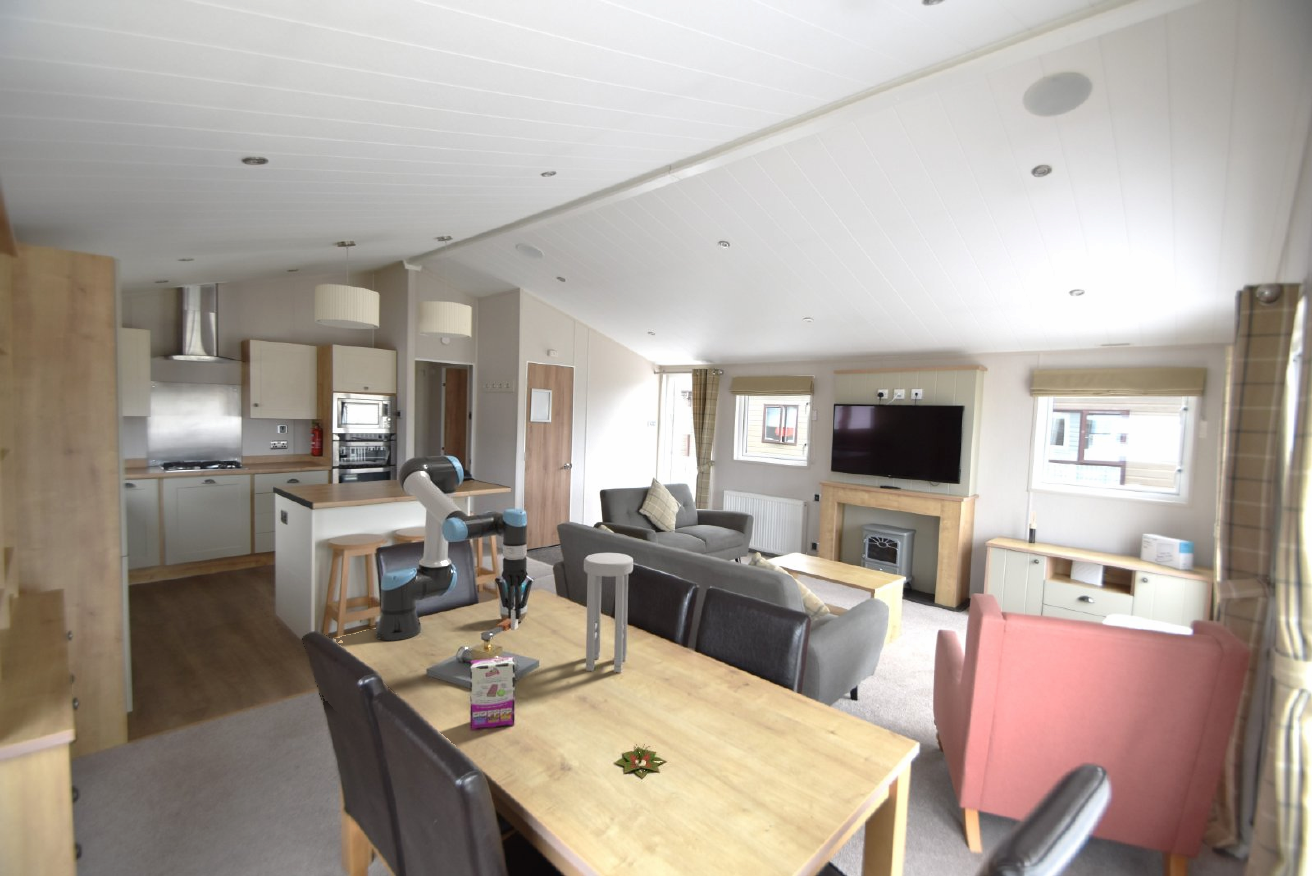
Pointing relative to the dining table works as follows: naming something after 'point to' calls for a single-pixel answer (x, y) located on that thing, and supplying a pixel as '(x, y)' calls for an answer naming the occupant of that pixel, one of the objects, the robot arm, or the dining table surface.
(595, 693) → the dining table surface
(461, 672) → the valve board
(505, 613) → the vase
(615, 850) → the dining table surface
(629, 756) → the lily flower
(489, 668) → the candy bar box
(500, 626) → the valve lever
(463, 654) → the valve pipe
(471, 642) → the dining table surface
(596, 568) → the stool
